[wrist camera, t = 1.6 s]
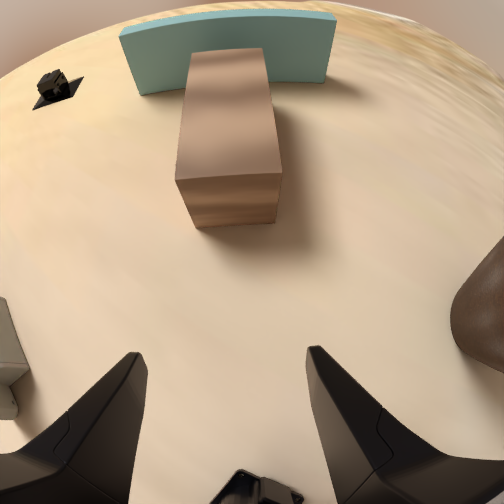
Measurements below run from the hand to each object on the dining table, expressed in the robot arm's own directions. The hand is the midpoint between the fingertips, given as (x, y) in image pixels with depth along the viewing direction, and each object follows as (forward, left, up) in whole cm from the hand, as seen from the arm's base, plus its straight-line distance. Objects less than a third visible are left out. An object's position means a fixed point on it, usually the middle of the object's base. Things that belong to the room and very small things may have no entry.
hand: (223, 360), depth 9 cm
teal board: (+29, +20, -14) cm, 38 cm away
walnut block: (+16, +11, -14) cm, 23 cm away
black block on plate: (+15, +46, -14) cm, 50 cm away
